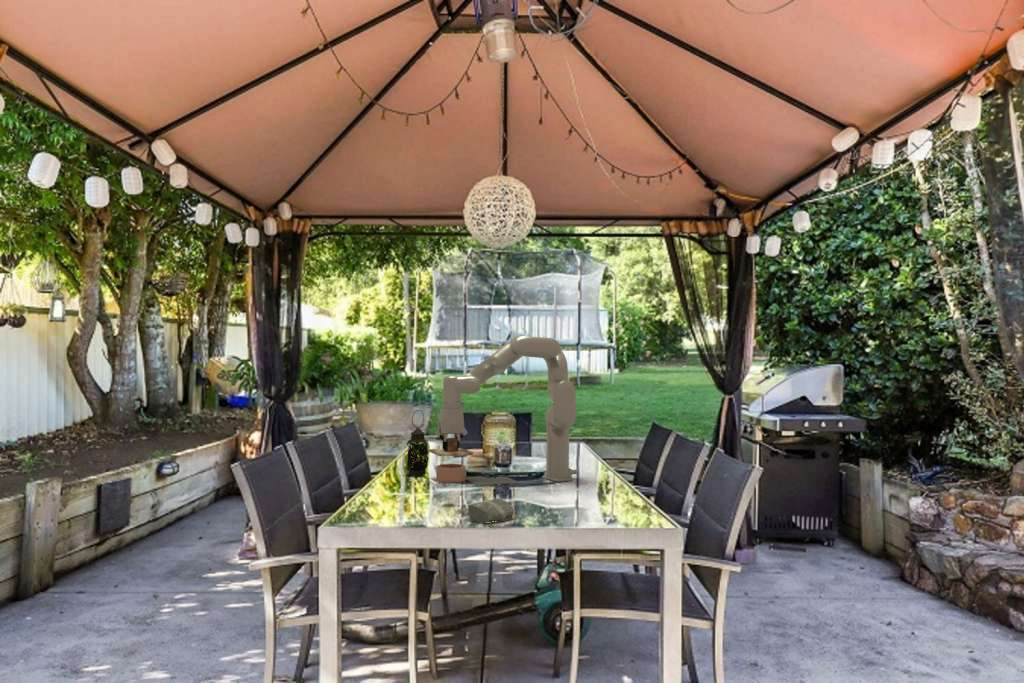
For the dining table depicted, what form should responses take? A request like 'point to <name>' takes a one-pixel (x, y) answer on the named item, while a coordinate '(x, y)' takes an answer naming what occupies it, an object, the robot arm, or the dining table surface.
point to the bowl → (451, 473)
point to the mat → (490, 480)
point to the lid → (451, 449)
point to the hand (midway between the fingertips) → (450, 450)
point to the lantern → (417, 453)
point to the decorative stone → (490, 511)
